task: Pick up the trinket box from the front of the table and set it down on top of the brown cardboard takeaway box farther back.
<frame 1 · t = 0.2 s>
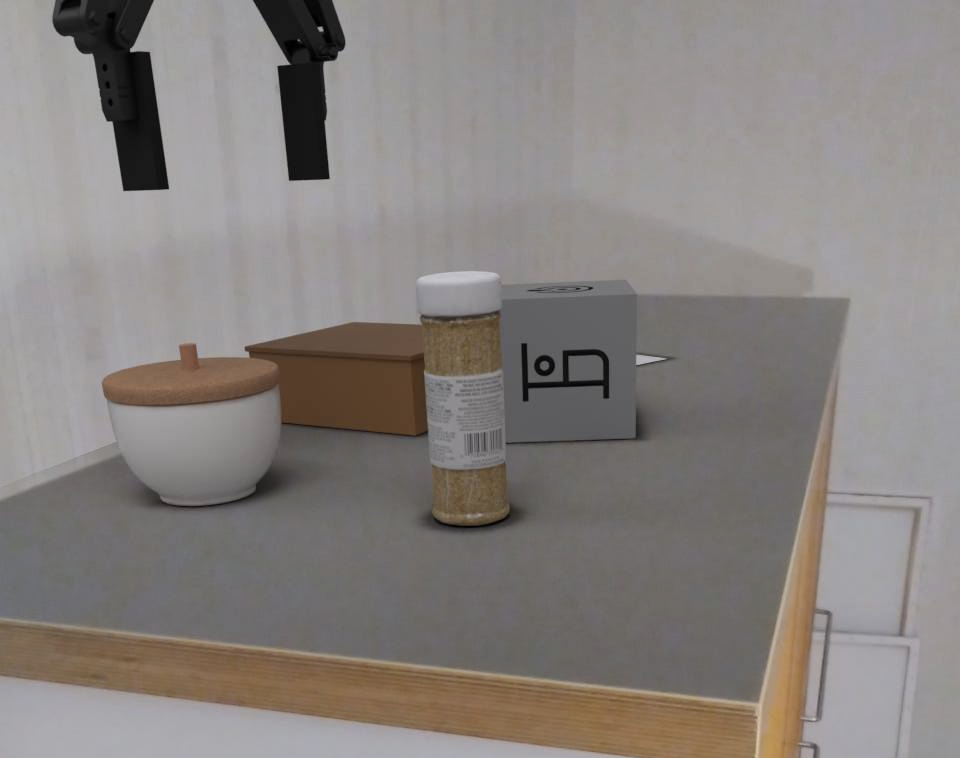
hand: (234, 185, 65), 18 cm above the counter, tool pointing down, fingers open, 13 cm apart
icon cube: (564, 428, 86), on the counter
sprinkles bottle: (470, 520, 65), on the counter
takeaway box: (384, 410, 94), on the counter
teacup and saucer: (525, 364, 113), on the counter
trinket box: (209, 495, 72), on the counter
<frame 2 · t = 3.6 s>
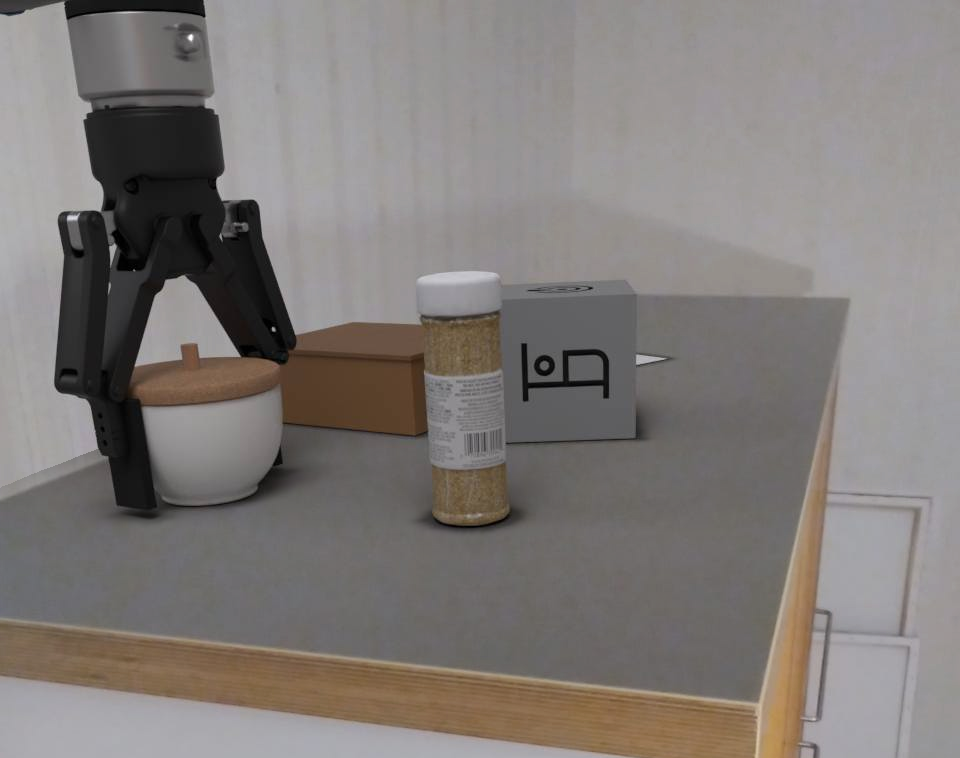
hand: (204, 483, 72), 1 cm above the counter, tool pointing down, fingers closed on trinket box, 11 cm apart
trinket box: (210, 495, 72), on the counter, touching gripper
everything else where it was.
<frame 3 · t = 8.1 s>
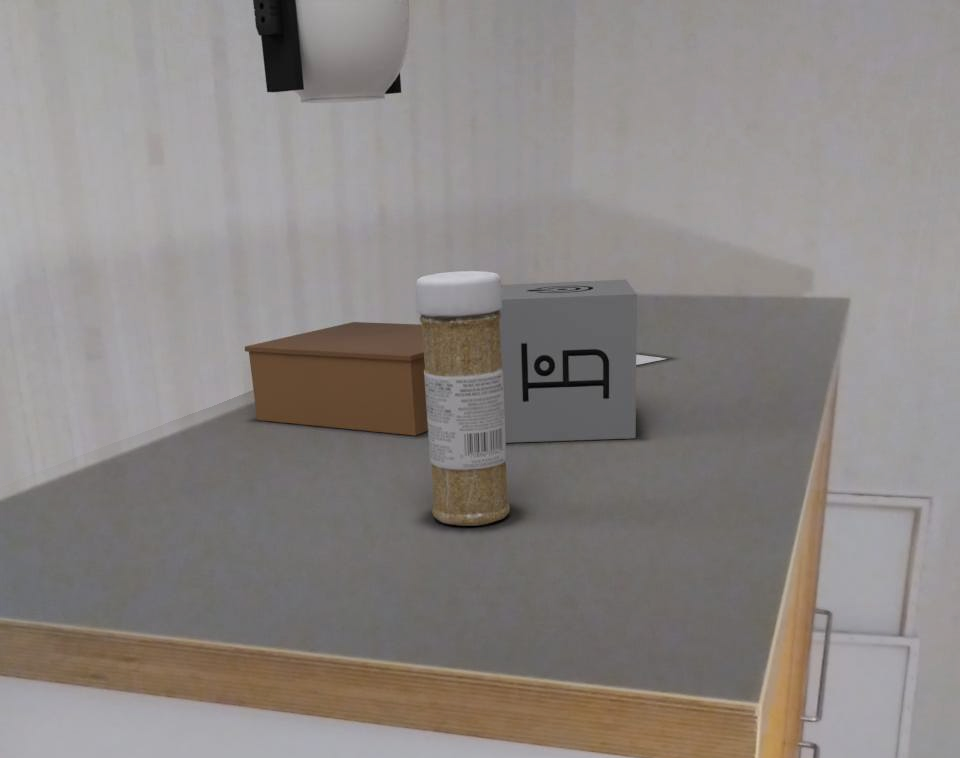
hand: (337, 92, 82), 24 cm above the counter, tool pointing down, fingers closed on trinket box, 11 cm apart
trinket box: (343, 103, 82), point 23 cm above the counter, touching gripper
everything else where it was.
when the fingers open (7 cm above the counter, at t = 12.8 s): trinket box stays where it is, resting on takeaway box.
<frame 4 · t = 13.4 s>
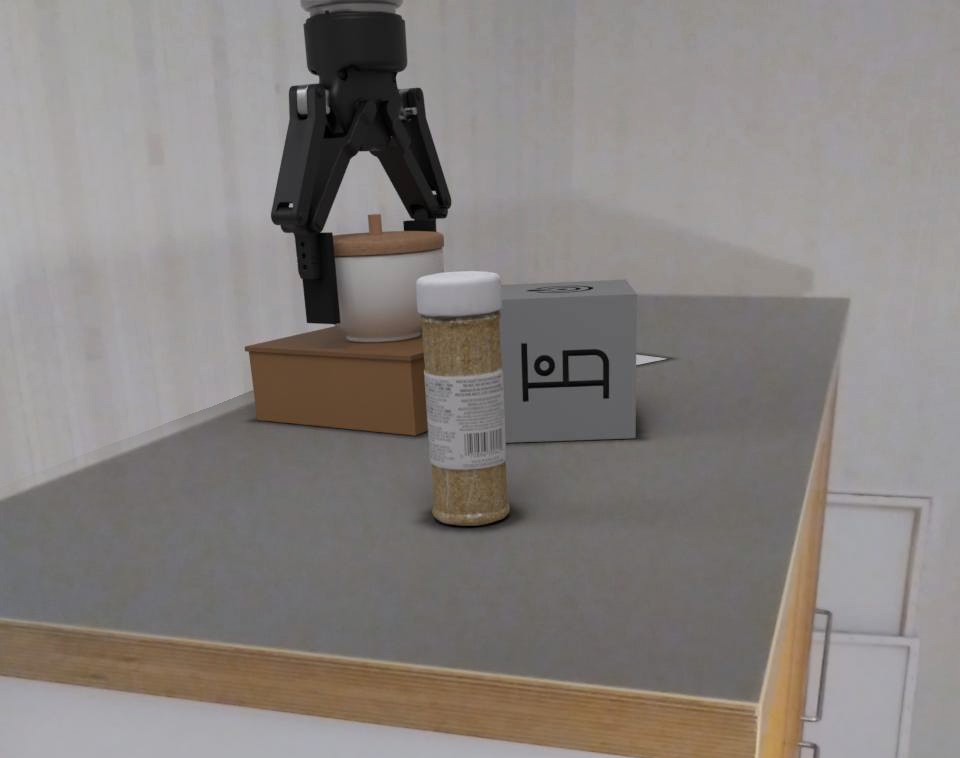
hand: (376, 312, 91), 8 cm above the counter, tool pointing down, fingers open, 13 cm apart
trinket box: (383, 339, 92), point 6 cm above the counter, touching takeaway box
everything else where it was.
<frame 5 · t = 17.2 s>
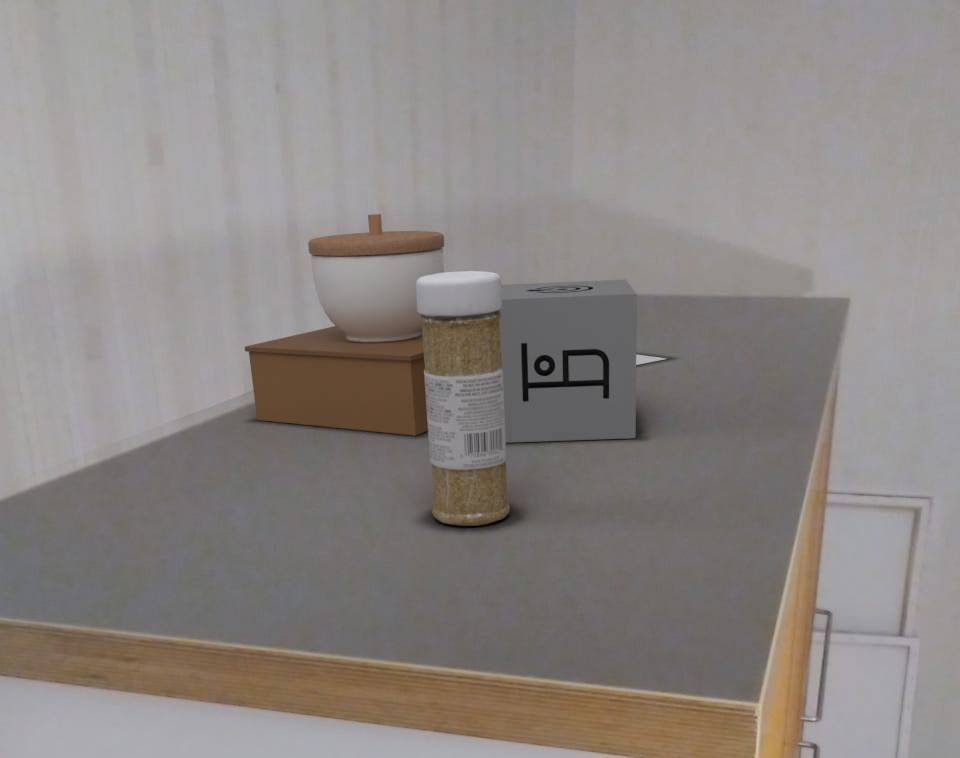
nothing on the counter moved.
at the end: trinket box inside the target area on the takeaway box (0.4 cm from its centre), point 5.8 cm above the takeaway box's base; trinket box tilted 0°; the gripper is holding nothing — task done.
